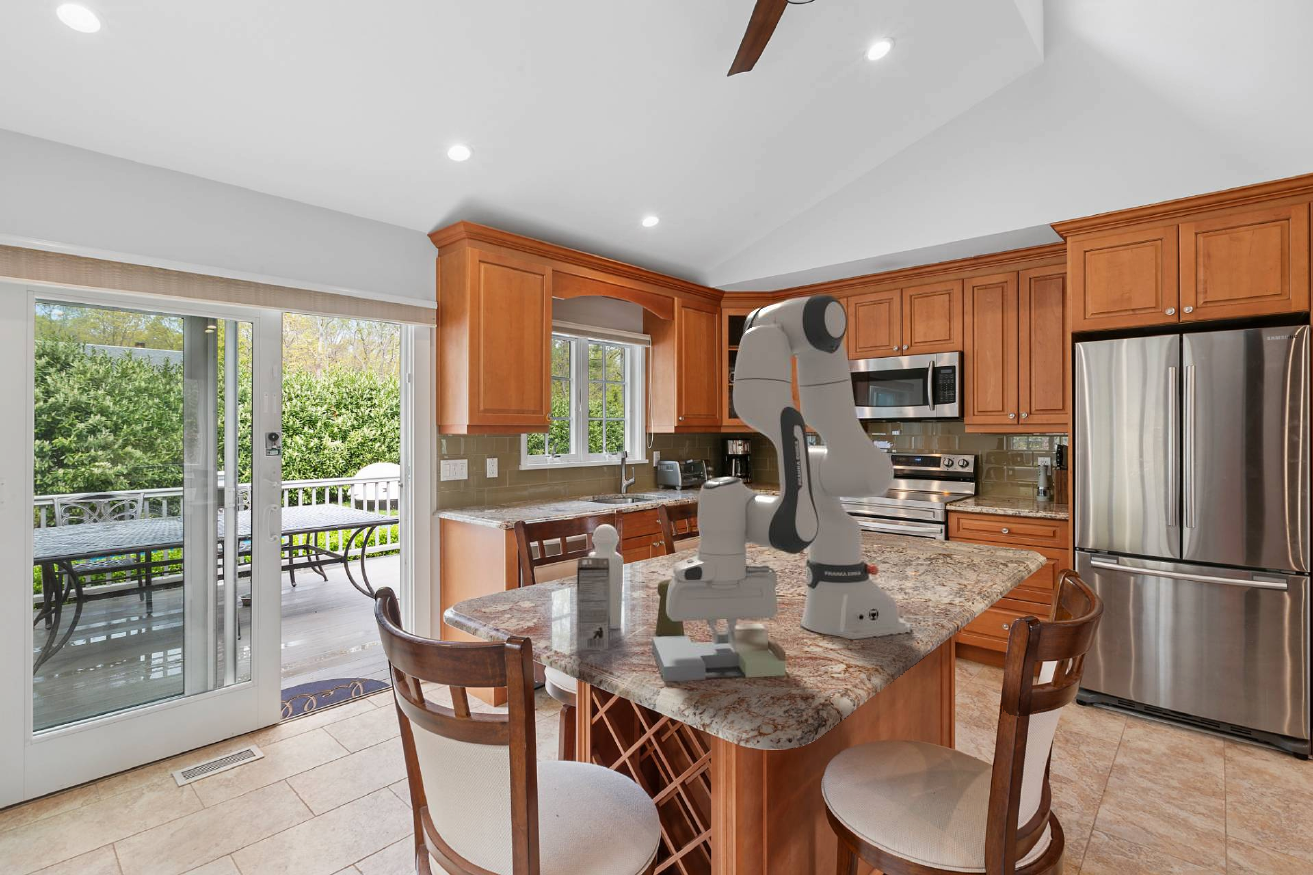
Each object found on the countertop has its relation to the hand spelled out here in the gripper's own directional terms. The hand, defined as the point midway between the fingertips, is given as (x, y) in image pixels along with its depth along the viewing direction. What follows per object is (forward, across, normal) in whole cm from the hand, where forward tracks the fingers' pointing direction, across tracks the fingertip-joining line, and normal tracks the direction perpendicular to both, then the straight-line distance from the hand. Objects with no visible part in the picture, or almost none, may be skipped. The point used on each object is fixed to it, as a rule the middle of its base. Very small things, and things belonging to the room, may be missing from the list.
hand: (721, 642), depth 116 cm
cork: (+4, +7, -18) cm, 19 cm away
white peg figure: (+4, +20, -25) cm, 32 cm away
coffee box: (+4, +23, -14) cm, 27 cm away
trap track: (+3, +1, 0) cm, 4 cm away
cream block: (+1, -5, 0) cm, 5 cm away
